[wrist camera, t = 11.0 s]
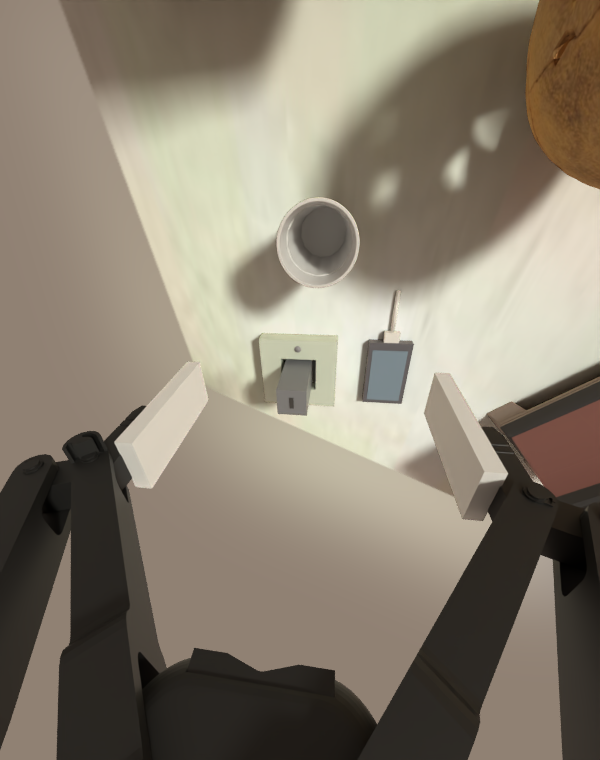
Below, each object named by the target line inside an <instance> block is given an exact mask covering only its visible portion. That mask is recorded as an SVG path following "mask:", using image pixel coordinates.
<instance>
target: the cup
mask: <svg viewBox="0 0 600 760" xmlns="http://www.w3.org/2000/svg"><path fill="white" fill-rule="evenodd" d="M276 246H277V254H278V258H279V260H280V263H281V265H282V267H283V269H284V270H285V272H286V273H287V274H288V275H289V276H290V277H291V278H292V279H293V280H295V281H296V282H298V283H299V284H301V285H304V286H307V287H311V288H324V287H328V286H331V285H334V284H336V283H337V282H339V281H340V280H342V279H343V278H344V277H345V276H346V275H347V274H348V273H349V272H350V270H351V269H352V267H353V266H354V264H355V262H356V259H357V256H358V253H359V246H360V238H359V231H358V228H357V225H356V222H355V220H354V218H353V217H352V215H351V214H350V212H349V211H348V210H347V209H346V208H345V207H344V206H342V205H341V204H340V203H338V202H336V201H334V200H332V199H328V198H323V197H314V198H309V199H306V200H303V201H301V202H299V203H298V204H296V205H295V206H293V207H292V208H291V209H290V210H289V211H288V212H287V214H286V215H285V216H284V218H283V220H282V221H281V224H280V226H279V229H278V233H277V240H276Z"/></svg>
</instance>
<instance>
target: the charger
mask: <svg viewBox="0 0 600 760" xmlns="http://www.w3.org/2000/svg"><path fill="white" fill-rule="evenodd" d="M312 380H313V360H299V359H286V362H285V365H284V367H283V370H282V373H281V376H280V379H279V382H278V385H277V388H276V396H277V409H278V414H290V415H306V416H307V410H308V404H309V398H310V392H311V386H312Z"/></svg>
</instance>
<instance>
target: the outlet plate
mask: <svg viewBox="0 0 600 760" xmlns="http://www.w3.org/2000/svg"><path fill="white" fill-rule="evenodd" d="M337 345H338V336H337V335H306V334H276V333H262V334H261V336H260V338H259V347H260V357H261V366H262V376H263V386H264V396H265V402H269V403H277V396H276V388H277V385H278V382H279V379H280V376H281V373H282V370H283V367H284V360H283V359H299V360H316V382H312V386H311V392H310V398H309V404H308V405H319V406H334V401H335V382H336V364H337Z"/></svg>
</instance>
